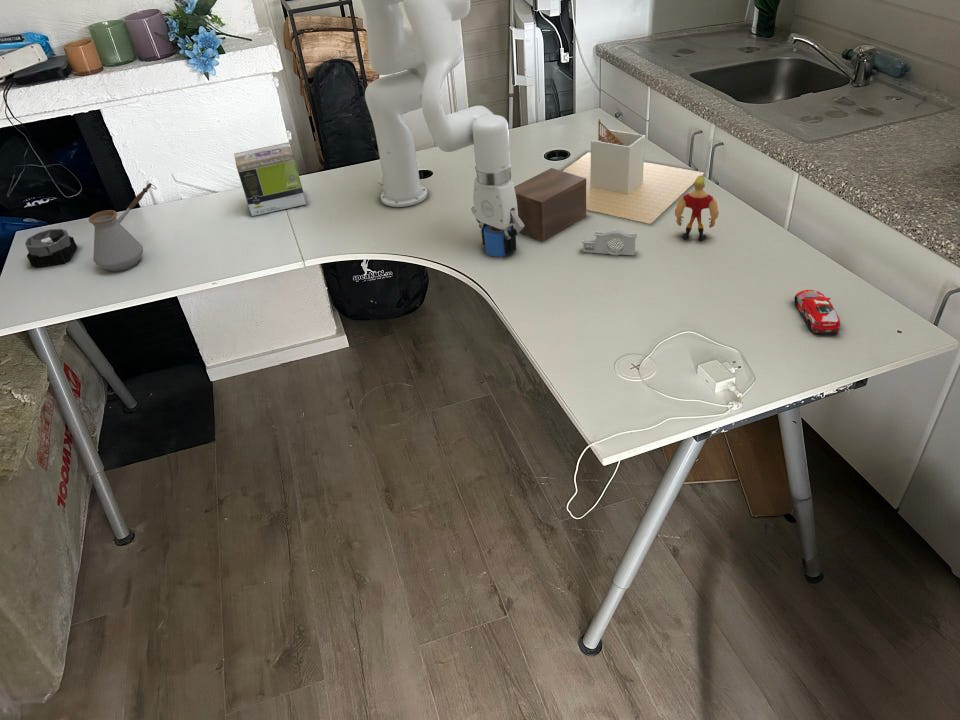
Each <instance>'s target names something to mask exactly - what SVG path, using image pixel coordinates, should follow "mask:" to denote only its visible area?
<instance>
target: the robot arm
mask: <svg viewBox="0 0 960 720" xmlns="http://www.w3.org/2000/svg"><path fill="white" fill-rule="evenodd" d="M360 1H361V4H362V7H363V11H364V13H365V14H364V15H365V26H366V27H365V28H366V40H367V52H368V60H369V64H370V67H371V69H372V71H373V72H374V73H376V75H380V76H382V77H379V78H376V79H374V80H373V81H371V82H370V83H368V85H367V86H366V88H365V91H364V99H365V103H366V106H367V109H368V113H369V115H370V117H371V121H372V124H373V129H374V134H375V140H376V145H377V150H378V157H379V162H380V167H381V173H382V178H381V179H379V180H378V184H379V185H381V186H382V187H383V191H382V192H381V194H380V201H381V203H382V204H383V205H385V206H388V207H392V208H393V207H394V208H407V207H411V206H415V205H418V204H420V203H422V202H423V201H424V200H425V199H426V198H428V190H427V188H426V187H425V186H423V185H421V179H420V173H419V165H418V160H417V158H418V157H417V151H416V145H415V144H416V143H415V137H414V132H413V129H412V127H411V125H410V124H409V123H408V122H407V121H406V120H405V119H404V118H403V115H405V114H407V113H410V112H413V111H416V110H419V109H421V110H422V115H423V117H424V121H425V123H426V126H427V129H428V131H429V133H430V136H431V138H432V140H433V142H434V144H435V145H436V147H437V148H438V149H439V150H440V151H442V152H444V153H453V152H457V151H458V150H459V151H460V150H461V149H464V148H467V147H471V146H473V151H474V163H475V166H474V169H475V173H476V178H475V179H474V184H473V206H472V207H471V208H470V211H471V212H472V214H473V215H474V218H475V220H476V222H477V223H478V228H479V229H480V230H481V243H482V245H483V246H485V240H484V227H485V226H486V225H490V226H493V227H495V228H498V229H501V230H503V231H504V234H505V236H506V238H505V239H504V247H505V254H507V255H506V256H508V254H509V255H510V254H512V253H513V252H515V251H517V236H518V235H519V234H520V231H521V230H522V229H523V228H524V224H523V222H522V221H521V220H520V218H519V217H518V209H517V200H516V194H515V189H514V187H515V185H514V182H513V180H512V167H511V151H510V148H511V147H510V135H509V122H508V121H507V119H506V118H505V117H504V116H503V115H498V114H495V113H493V112H492V111H491V110H490V109H488V108H487V107H485V106H483V105H474V106H470V107H468V108H464V109H461V110H458V111H455V112H452V113H449V114H446V113H445V110H444V107H443V104H442V99H441V90H442V87H443V83H444V81H445V79H446V77H447V76H448V74H449V73H451V72H452V70H453V69H455V68H456V67H457V66H459V64H460V63H461V62H462V61H463V59H464V56H465V55H464V53H465V52H464V50H463V48H462V45H461V42H460V39H459V37H458V34H457V30H456V28H455V25H454V23H453V22H455V21H459V20H462V19H465V18H467V16H468V15H469V13H470V11H471V0H360ZM399 3H403V7H404V11H405V14H406V16H407V20H408V23H409V24H407V25H404V15H403V10H402V8H401V6H400V5H399ZM508 227H510V228H511V232H510V233H509V230H508Z"/></svg>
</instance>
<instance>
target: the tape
mask: <svg viewBox="0 0 960 720" xmlns="http://www.w3.org/2000/svg"><path fill="white" fill-rule="evenodd" d="M508 230H509V233H510V232H511V228H510V227H508ZM505 238H506V236H505V234H504V231H503V230H501V229H498V228H495V227H493V226H490V225H486V226H485V227H484V240H485V245H484V252H485V253H486V254H487V255H488V256H490V257H496V258H497V257H498V258H501V257H506V256H508V255H510V254H508V255H507V254H505V247H504V239H505Z"/></svg>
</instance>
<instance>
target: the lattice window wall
mask: <svg viewBox="0 0 960 720" xmlns="http://www.w3.org/2000/svg"><path fill="white" fill-rule="evenodd" d="M594 236H595V238H594V239H592V238H591V239H589V238H588V239H586V238H583V239H582V240H581V241H582V242H581V243H582V252H583V253H587V254H588V253H590V254H604V255H605V254H606V255H611V256H619V255H622V256H635V255H636V241H637V240H636V239H637V237H638V233H637V232H633V233H629V232H626V231H624V230H621V229H619V228H618V229H610V230H606V231H597V230H595V231H594Z"/></svg>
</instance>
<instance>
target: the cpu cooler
mask: <svg viewBox="0 0 960 720" xmlns="http://www.w3.org/2000/svg"><path fill="white" fill-rule="evenodd" d="M24 244H25V247H26V249H27V252H28V253H27V254H26V258H27V260H28V262H29V264H30V266H31V267H34V268H42V267H47V266H55V265H62V264H65V263H67V262H70V261H71V260H72V258H73V256H74V254H75V253H76V251H77V249H78V246H77V245H78V244H77V243H76V241H75V238H74V237H73V236H71V235H69V232H68V231H67V230H66V229H63V228H51V229H47V230H43V231H38V232H37V233H35V234H33V235H31V236H30V237H28V238H26V240H25V243H24Z"/></svg>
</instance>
